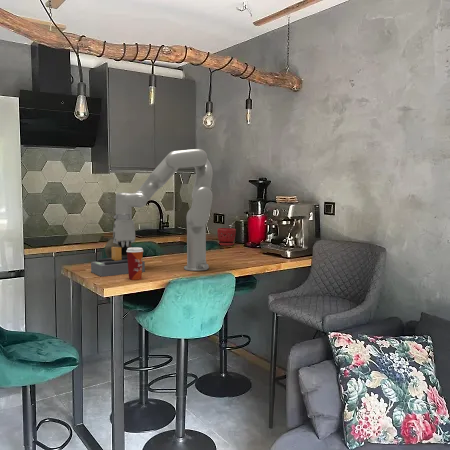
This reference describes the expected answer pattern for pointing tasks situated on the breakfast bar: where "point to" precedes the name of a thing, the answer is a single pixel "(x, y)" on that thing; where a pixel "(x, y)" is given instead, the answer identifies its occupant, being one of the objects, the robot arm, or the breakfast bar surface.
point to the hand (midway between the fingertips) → (124, 254)
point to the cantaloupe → (109, 248)
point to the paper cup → (135, 262)
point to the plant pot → (228, 238)
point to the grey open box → (111, 267)
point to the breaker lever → (116, 253)
